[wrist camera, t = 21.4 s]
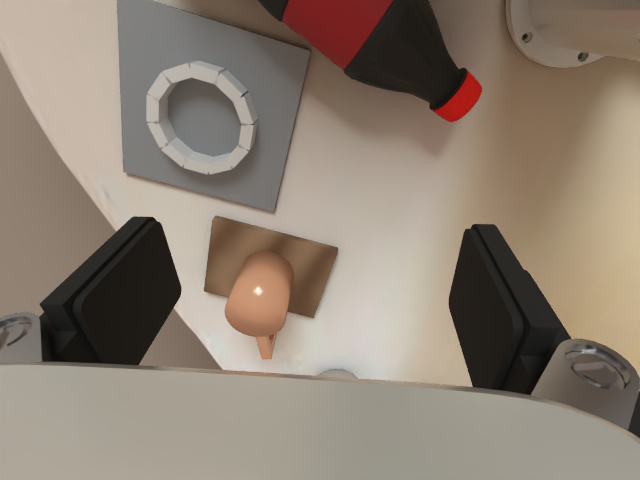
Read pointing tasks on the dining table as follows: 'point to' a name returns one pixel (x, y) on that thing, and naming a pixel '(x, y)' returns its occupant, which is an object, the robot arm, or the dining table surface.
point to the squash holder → (206, 102)
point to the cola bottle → (385, 47)
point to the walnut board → (243, 240)
